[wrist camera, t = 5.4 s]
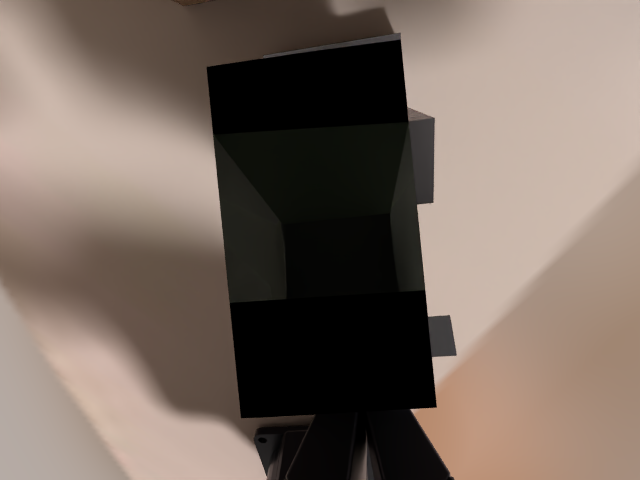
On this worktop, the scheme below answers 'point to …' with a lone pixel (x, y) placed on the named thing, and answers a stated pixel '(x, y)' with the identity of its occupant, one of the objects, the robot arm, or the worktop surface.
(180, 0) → the ramp
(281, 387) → the lever
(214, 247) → the worktop surface
